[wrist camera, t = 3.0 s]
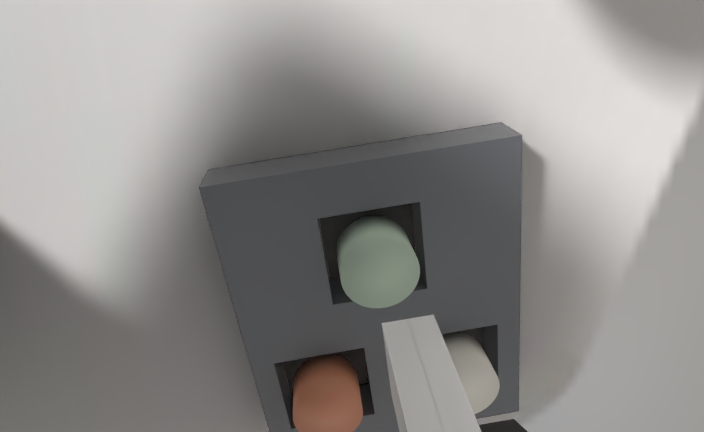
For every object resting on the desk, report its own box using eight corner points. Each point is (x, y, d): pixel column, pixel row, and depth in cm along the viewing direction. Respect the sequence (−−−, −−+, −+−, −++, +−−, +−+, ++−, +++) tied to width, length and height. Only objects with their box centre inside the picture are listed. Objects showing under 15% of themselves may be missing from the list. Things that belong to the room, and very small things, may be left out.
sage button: (342, 284, 20) (346, 314, 19) (331, 221, 19) (334, 246, 17) (411, 273, 21) (422, 301, 19) (405, 209, 19) (416, 232, 17)
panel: (278, 422, 25) (276, 454, 23) (208, 169, 19) (199, 187, 18) (503, 381, 26) (518, 411, 24) (501, 122, 20) (522, 134, 18)
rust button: (299, 409, 23) (299, 446, 21) (287, 361, 22) (286, 395, 20) (361, 398, 23) (366, 434, 21) (353, 349, 22) (358, 382, 20)
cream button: (422, 387, 23) (433, 422, 21) (417, 338, 22) (429, 370, 20) (483, 376, 23) (500, 410, 21) (482, 327, 22) (499, 358, 20)
